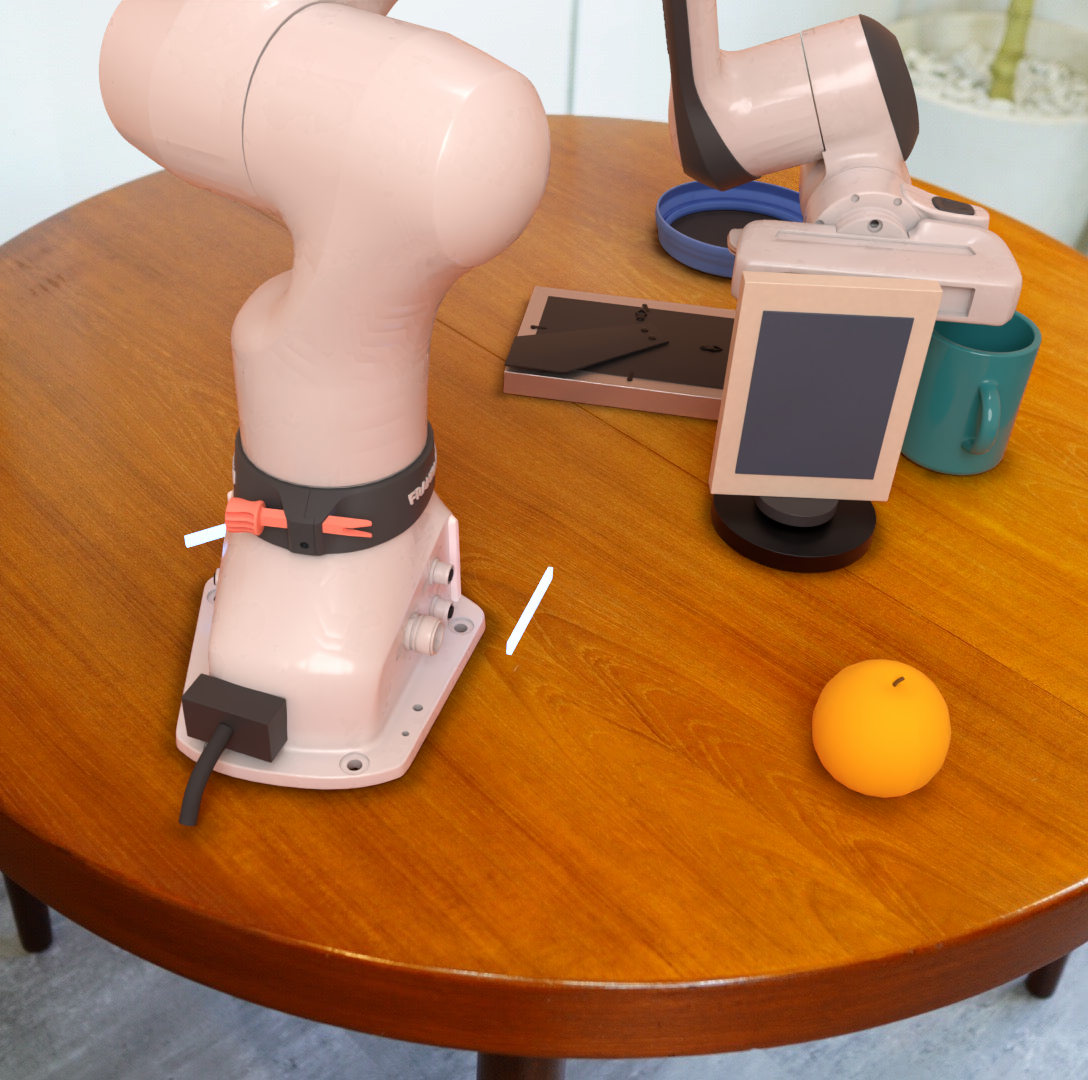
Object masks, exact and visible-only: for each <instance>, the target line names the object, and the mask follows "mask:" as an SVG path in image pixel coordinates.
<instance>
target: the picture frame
mask: <svg viewBox="0 0 1088 1080" xmlns="http://www.w3.org/2000/svg"><path fill="white" fill-rule="evenodd" d="M735 313H736V309H729V308H720V307H711V306H706V305H705V306H704V305H696V304H688V303H680V302H672V301H671V302H670V301H665V300H655V299H649V298H640V297H639V298H638V297H631V296H623V295H614V294H606V293H598V292H588V291H580V290H575V289H574V290H573V289H565V288H558V287H547V286H541V285H535V286H534V288H533V290H532V292H531V296H530V299H529V302H528V305H527V307H526V310H525V313H524V316H523V318H522V321H521V324H520V327H519V330H518V333H517V335H516V336H514V338H513V341H512V343H511V346H510V349H509V351H508V354H507V356H506V359H505V362H504V367H505V369H504V371H503V394H508V395H516V396H523V397H524V396H525V397H531V398H540V399H547V400H555V401H563V402H571V403H578V404H584V405H585V404H587V405H594V406H601V407H608V408H617V409H625V410H633V411H640V412H646V413H647V412H648V413H655V414H656V413H657V414H663V415H670V416H671V415H672V416H679V417H686V418H693V419H702V420H710V421H716V422H718V419H719V412H720V406H721V400H722V394H723V387H724V381H725V375H726V369H727V363H728V356H729V350H730V344H731V338H732V331H733V325H734V319H735Z"/></svg>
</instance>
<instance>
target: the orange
mask: <svg viewBox="0 0 1088 1080" xmlns="http://www.w3.org/2000/svg"><path fill="white" fill-rule="evenodd" d="M811 725H812V729H811V731H812V744H813V747H814V750H815V752H816V754H817V757H818V759H819V761H820V763H821V765H822V767H823V768H824V769H825V770H826V771H827V772H828V774H829V775H831V777H832V778H833V779H834V780H835V781H837V782H839V784H841V785H843V786H844V787H846V788H848V789H849V790H851V791H854V792H857V793H859V794H862V795H865V796H869V797H875V798H882V799H887V798H896V797H897V798H898V797H903V796H906V795H908V794H910V793H913V792H915V791H917V790H919V789H922V788H923V787H924V786H926V785H927V784H928V783H930V781H931V780H932V779H933V778H934V777H935V776H936V775H937V774H938V772H940V770H941V768H942V767H943V765H944V762H945V761H946V757H947V755H948V751H949V749H950V743H951V740H952V727H951V720H950V712H949V707H948V704H947V702H946V700H945V698H944V697H943V695H942V693H941V692H940V690H939V688H938V686H937V685H936V684H935V683H934V682H933V681H932V680H931V679H930V678H929V677H928V676H927V675H926V674H925V673H924V672H922V671H920V670H919V669H917V668H915V667H913V666H912V665H910V664H907V663H904V662H901V661H898V660H892V659H886V658H877V659H874V658H873V659H865V660H862V661H859V662H856V663H853V664H850V665H848V666H845V667H844V668H842V669H841V670H840V671H839V672H838V673H836V674H835V675H834V676H833V677H832V678H831V679H830V680H829V681H828V682H827V683H826V684H825V685H824V687H823V688H822V689H821V692H820V694H819V697H818V699H817V702H816V704H815V706H814V709H813V712H812V717H811Z"/></svg>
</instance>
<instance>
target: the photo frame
mask: <svg viewBox="0 0 1088 1080" xmlns="http://www.w3.org/2000/svg"><path fill="white" fill-rule="evenodd" d="M942 294H943V290H942V288H941V286H940V284H939V282H938V281H936V280H916V279H895V278H875V277H855V276H835V275H814V274H794V273H774V272H753V271H742V275H741V282H740V288H739V294H738V300H737V299H736V300H737V301H736V307H735V310H736V313H735V319H734V325H733V331H732V338H731V344H730V350H729V356H728V363H727V369H726V375H725V381H724V387H723V394H722V400H721V406H720V412H719V419H718V421H717V426H716V431H715V437H714V444H713V451H712V457H711V463H710V469H709V475H708V486H709V487H708V488H709V493H710V494H711V495H714V494H728V495H751V496H755V502H756V504H757V506H758V508H759V509H760V510H761V511H762V512H763V513H764V514H765V515H766V516H768V517H769V518H771V519H773V520H775V521H777V522H780V523H783V524H786V525H790V526H796V527H812V526H817V525H821V524H823V523H826V522H827V521H829V520H830V519H831V518H832V517H833V516H834V514H835V512H836V509H837V504H838V499H843V500H866V501H871V502H888V500H889V497H890V494H891V489H892V485H893V482H894V478H895V474H896V470H897V467H898V463H899V459H900V457H901V456H900V455H901V448H902V445H903V441H904V437H905V433H906V430H907V426H908V422H909V418H910V415H911V411H912V407H913V403H914V400H915V396H916V392H917V388H918V385H919V381H920V377H921V373H922V370H923V366H924V362H925V358H926V355H927V351H928V347H929V343H930V340H931V336H932V332H933V328H934V325H935V321H936V317H937V313H938V309H939V306H940V302H941V298H942Z"/></svg>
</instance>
